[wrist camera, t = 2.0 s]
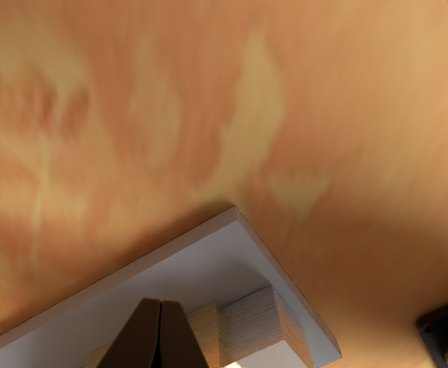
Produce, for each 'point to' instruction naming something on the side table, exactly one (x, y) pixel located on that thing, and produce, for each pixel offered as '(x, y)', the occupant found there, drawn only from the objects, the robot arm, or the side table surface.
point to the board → (164, 295)
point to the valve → (244, 334)
